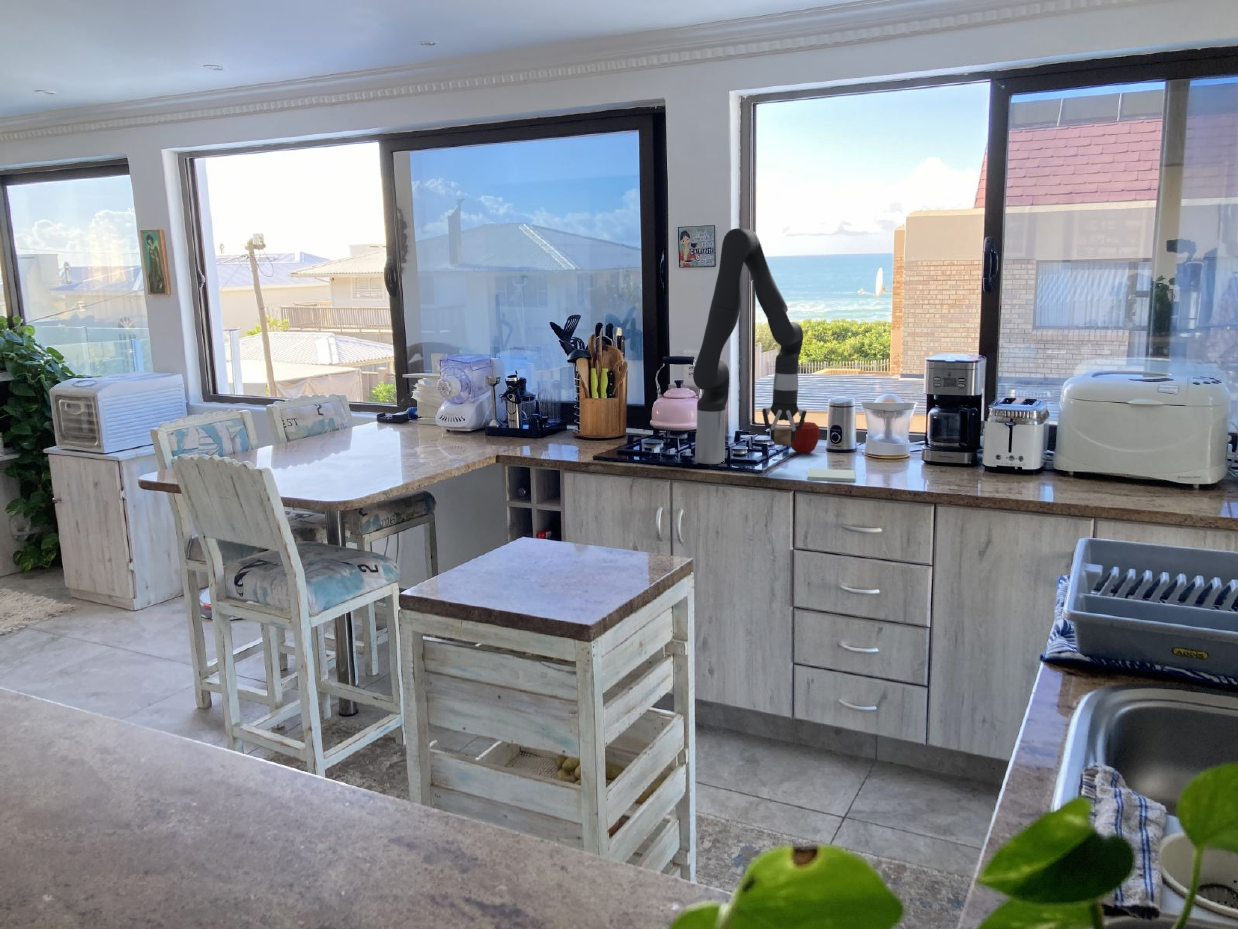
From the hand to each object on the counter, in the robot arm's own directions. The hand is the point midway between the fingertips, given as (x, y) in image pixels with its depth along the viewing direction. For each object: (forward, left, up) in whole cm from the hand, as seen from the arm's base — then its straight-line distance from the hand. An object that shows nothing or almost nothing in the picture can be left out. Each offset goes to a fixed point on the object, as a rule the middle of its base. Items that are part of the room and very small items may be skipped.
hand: (782, 441), depth 304 cm
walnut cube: (0, 0, -1) cm, 1 cm away
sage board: (+15, -6, -9) cm, 19 cm away
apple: (+5, +30, -9) cm, 32 cm away
